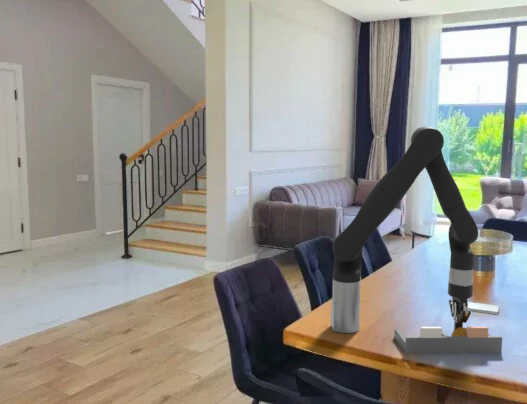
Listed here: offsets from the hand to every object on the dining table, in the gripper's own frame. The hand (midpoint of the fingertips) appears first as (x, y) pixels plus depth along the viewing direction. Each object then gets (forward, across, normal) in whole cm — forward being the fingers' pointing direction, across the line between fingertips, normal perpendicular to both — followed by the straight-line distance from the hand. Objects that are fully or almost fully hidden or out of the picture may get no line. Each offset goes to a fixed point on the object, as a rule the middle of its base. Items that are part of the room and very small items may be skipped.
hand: (458, 332), depth 171 cm
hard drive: (+2, -27, +19) cm, 33 cm away
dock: (+1, +8, -7) cm, 10 cm away
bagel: (+1, +8, 0) cm, 8 cm away
